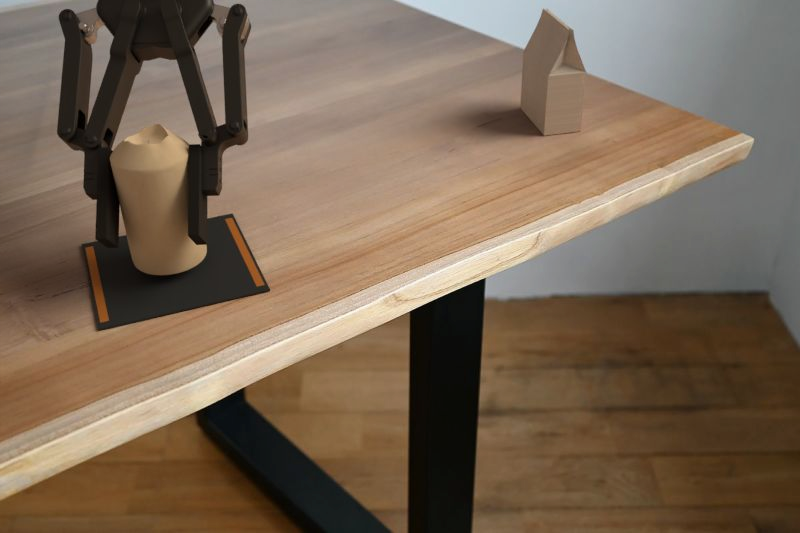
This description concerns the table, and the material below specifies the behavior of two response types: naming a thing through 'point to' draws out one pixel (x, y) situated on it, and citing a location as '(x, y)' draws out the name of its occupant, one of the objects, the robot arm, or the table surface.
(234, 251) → the mat
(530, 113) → the tan gable-top carton
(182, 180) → the candle
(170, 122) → the table surface
